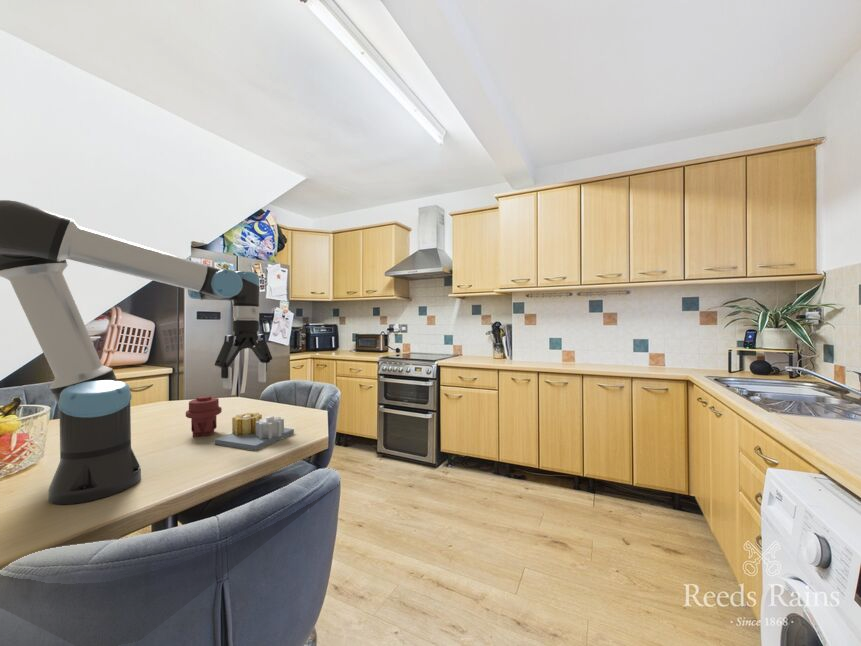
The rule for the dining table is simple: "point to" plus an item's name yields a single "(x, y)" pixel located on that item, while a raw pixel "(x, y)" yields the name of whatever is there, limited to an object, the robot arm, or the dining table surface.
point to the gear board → (257, 435)
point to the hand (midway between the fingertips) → (245, 385)
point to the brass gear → (245, 424)
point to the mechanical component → (203, 415)
